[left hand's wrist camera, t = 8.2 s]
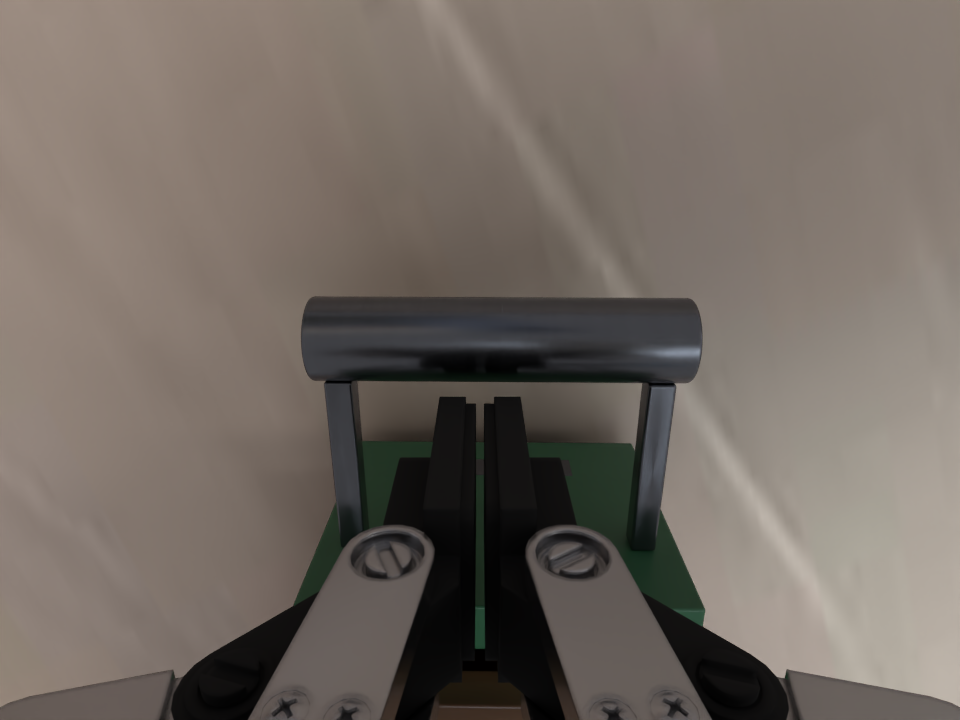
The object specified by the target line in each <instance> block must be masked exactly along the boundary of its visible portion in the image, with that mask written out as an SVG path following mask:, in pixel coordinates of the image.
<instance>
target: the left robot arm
mask: <svg viewBox="0 0 960 720" xmlns="http://www.w3.org/2000/svg"><path fill="white" fill-rule="evenodd" d="M475 595H476V404H466V397H440V398H439V405H438V411H437V418H436V425H435V431H434V438H433V444H432V451H431V457H401V458H400V459H399V462H398V466H397V470H396V474H395V478H394V482H393V486H392V490H391V494H390V498H389V502H388V506H387V511H386V515H385V519H384V523H383V526H379V527H373V528H371V529H368V530H366V531H364V532H361V533H360V534H358V535H357V536H355V537H354V538H352V539H351V540H350V541H349V542H348V543H347V545H346V546H345V547H344V548H343V550H342V552H341V554H340V555H339V557H338V559H337V561H336V563H335V564H334V566H333V568H332V570H331V572H330V573H329V575H328V577H327V579H326V581H325V582H324V584H323V586H322V588H321V590H320V591H319V592H317V593H315V594H313V595H312V596H310V597H308V598H307V599H305V600H303V601H301V602H300V603H298V604H296V605H294V606H293V607H291V608H289V609H287V610H286V611H284V612H282V613H280V614H279V615H277V616H275V617H273V618H272V619H270V620H268V621H267V622H265V623H263V624H261V625H260V626H258V627H256V628H254V629H253V630H251V631H249V632H247V633H246V634H244V635H242V636H240V637H239V638H237V639H235V640H234V641H232V642H230V643H228V644H227V645H225V646H223V647H221V648H220V649H218V650H216V651H214V652H213V653H211V654H209V655H208V656H206V657H205V658H204V659H202V660H201V661H199V662H198V663H197V664H195V665H194V666H193V667H192V668H191V669H190V670H189V671H188V673H187V674H186V675H185V676H184V677H181V678H175V675H174V671H173V670H168V671H163V672H157V673H152V674H147V675H141V676H136V677H131V678H125V679H120V680H115V681H109V682H104V683H98V684H93V685H88V686H82V687H77V688H72V689H66V690H61V691H56V692H50V693H45V694H40V695H34V696H29V697H26V698H23V699H20V700H17V701H13V702H10V703H8V704H6V705H4V706H2V707H0V720H437V717H438V713H439V702H440V696H439V691H441V690H442V689H443V688H444V687H446V686H447V685H448V684H449V683H462V664H463V661H475ZM484 595H485V661H497V664H498V683H511V684H512V685H513V686H514V687H516V688H517V689H518V690H519V691H521V696H520V702H521V713H522V717H523V720H960V707H958V706H956V705H954V704H952V703H950V702H947V701H943V700H940V699H937V698H934V697H931V696H926V695H920V694H915V693H910V692H904V691H899V690H894V689H888V688H883V687H878V686H872V685H867V684H862V683H856V682H851V681H845V680H840V679H835V678H829V677H824V676H819V675H813V674H808V673H803V672H797V671H792V670H787V671H786V675H785V678H779V677H776V676H775V675H774V674H773V673H772V671H771V670H770V669H769V668H768V667H767V666H766V665H765V664H763V663H762V662H761V661H759V660H758V659H756V658H755V657H754V656H752V655H751V654H749V653H747V652H746V651H744V650H742V649H740V648H739V647H737V646H735V645H733V644H732V643H730V642H728V641H726V640H725V639H723V638H721V637H720V636H718V635H716V634H714V633H713V632H711V631H709V630H707V629H706V628H704V627H702V626H700V625H699V624H697V623H695V622H693V621H692V620H690V619H688V618H687V617H685V616H683V615H681V614H680V613H678V612H676V611H674V610H673V609H671V608H669V607H667V606H666V605H664V604H662V603H660V602H659V601H657V600H655V599H653V598H652V597H650V596H648V595H647V594H645V593H643V592H641V591H640V590H639V588H638V586H637V584H636V582H635V581H634V579H633V577H632V575H631V573H630V572H629V570H628V568H627V566H626V564H625V563H624V561H623V559H622V557H621V555H620V554H619V552H618V550H617V548H616V547H615V546H614V545H613V544H612V542H611V541H610V540H609V539H608V538H606V537H605V536H603V535H602V534H600V533H599V532H596V531H594V530H592V529H589V528H587V527H581V526H577V523H576V519H575V515H574V511H573V506H572V502H571V498H570V494H569V490H568V486H567V482H566V478H565V474H564V470H563V466H562V462H561V459H560V458H559V457H529V451H528V444H527V438H526V431H525V425H524V418H523V411H522V405H521V398H520V397H494V404H484Z"/></svg>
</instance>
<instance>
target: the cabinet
mask: <svg viewBox="0 0 960 720" xmlns="http://www.w3.org/2000/svg"><path fill="white" fill-rule="evenodd" d="M702 627H703V626H702ZM439 696H440V702H439V713H438V717H437V720H523V717H522V713H521V702H520V696H521V691H519V690H518V689H517V688H516V687H514V686H513V685H512V684H511V683H498V671H462V683H449V684H448V685H447V686H446V687H444V688H443V689H442V690H441V691H439Z"/></svg>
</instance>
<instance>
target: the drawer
mask: <svg viewBox="0 0 960 720" xmlns="http://www.w3.org/2000/svg"><path fill="white" fill-rule="evenodd" d="M702 339H703V338H702V324H701V318H700V314H699V310H698V308H697V305H696V304H695V302H694V301H693V300H691V299H689V298H543V297H326V296H315V297H312V298H310V299H309V300H308V302H307V304H306V307H305V310H304V314H303V319H302V327H301V349H302V357H303V362H304V366H305V370H306V372H307V374H308V376H309V377H310V379H312V380H314V381H325V383H324V388H325V398H326V407H327V417H328V427H329V436H330V446H331V456H332V465H333V475H334V485H335V494H336V503H335V506H334V508H333V511H332V513H331V515H330V518H329V520H328V523H327V525H326V528H325V530H324V532H323V535H322V537H321V540H320V542H319V544H318V547H317V549H316V552H315V554H314V557H313V559H312V561H311V564H310V566H309V569H308V571H307V573H306V576H305V578H304V581H303V583H302V585H301V588H300V590H299V593H298V595H297V598H296V600H295V602H294V605H296V604H298V603H300V602H301V601H303V600H305V599H307V598H308V597H310V596H312V595H313V594H315V593H317V592H319V591H320V590H321V588H322V586H323V584H324V582H325V581H326V579H327V577H328V575H329V573H330V572H331V570H332V568H333V566H334V564H335V563H336V561H337V559H338V557H339V555H340V554H341V552H342V550H343V548H344V547H345V546H346V545H347V543H348V542H349V541H350V540H351V539H352V538H354V537H355V536H357V535H358V534H360V533H361V532H364V531H366V530H368V529H371V528H373V527H379V526H383V523H384V519H385V515H386V511H387V506H388V502H389V498H390V494H391V490H392V486H393V482H394V478H395V474H396V470H397V466H398V462H399V459H400V458H401V457H431V451H432V444H433V442H407V441H362V432H361V420H360V408H359V395H358V383H357V381H433V382H578V383H642V391H641V401H640V410H639V419H638V428H637V438H636V447H635V451H634V448H633V446H632V444H630V443H527V444H528V451H529V457H559V458H560V459H561V462H562V466H563V470H564V474H565V478H566V482H567V486H568V490H569V494H570V498H571V502H572V506H573V511H574V515H575V519H576V523H577V526H581V527H587V528H589V529H592V530H594V531H596V532H599V533H600V534H602V535H603V536H605V537H606V538H608V539H609V540H610V541H611V542H612V544H613V545H614V546H615V547H616V548H617V550H618V552H619V554H620V555H621V557H622V559H623V561H624V563H625V564H626V566H627V568H628V570H629V572H630V573H631V575H632V577H633V579H634V581H635V582H636V584H637V586H638V588H639V590H640V591H641V592H643V593H645V594H647V595H648V596H650V597H652V598H653V599H655V600H657V601H659V602H660V603H662V604H664V605H666V606H667V607H669V608H671V609H673V610H674V611H676V612H678V613H680V614H681V615H683V616H685V617H687V618H688V619H690V620H692V621H693V622H695V623H697V624H699V625H700V626H703V620H704V615H705V608H704V606H703V604H702V601H701V599H700V597H699V595H698V592H697V590H696V588H695V586H694V583H693V581H692V579H691V577H690V574H689V572H688V570H687V568H686V565H685V563H684V561H683V559H682V556H681V554H680V552H679V550H678V547H677V545H676V543H675V541H674V538H673V536H672V534H671V532H670V529H669V527H668V525H667V523H666V520H665V518H664V516H663V514H662V511H661V509H660V508H661V500H662V493H663V485H664V477H665V470H666V462H667V454H668V447H669V439H670V432H671V424H672V416H673V409H674V401H675V393H676V385H675V383H689V382H691V381H692V380H693V379H694V377H695V376H696V374H697V371H698V368H699V364H700V360H701V354H702ZM462 671H498V664H497V661H485V595H484V442H476V595H475V661H463V664H462Z"/></svg>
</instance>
